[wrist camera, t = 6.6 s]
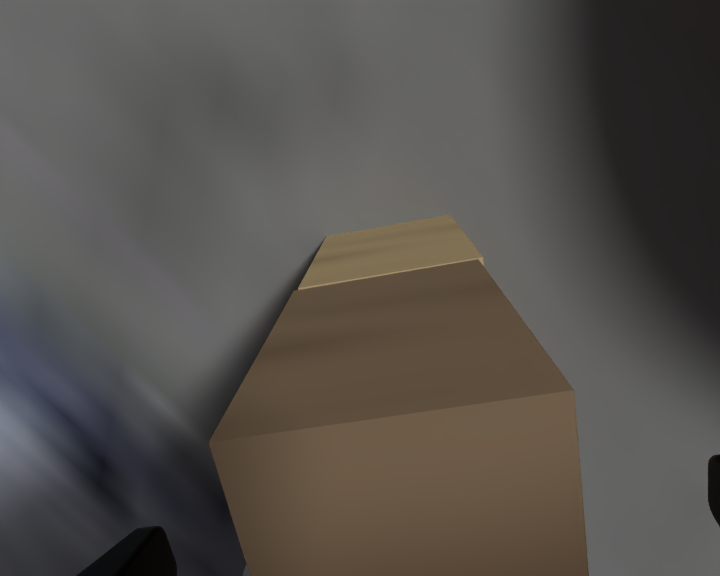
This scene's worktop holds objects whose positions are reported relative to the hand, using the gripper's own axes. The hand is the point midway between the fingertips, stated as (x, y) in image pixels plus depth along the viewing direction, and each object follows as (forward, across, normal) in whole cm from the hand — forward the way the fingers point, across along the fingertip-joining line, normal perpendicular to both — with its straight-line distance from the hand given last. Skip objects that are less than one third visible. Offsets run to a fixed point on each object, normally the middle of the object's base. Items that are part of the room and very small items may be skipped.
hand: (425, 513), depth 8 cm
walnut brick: (+2, 0, 0) cm, 2 cm away
